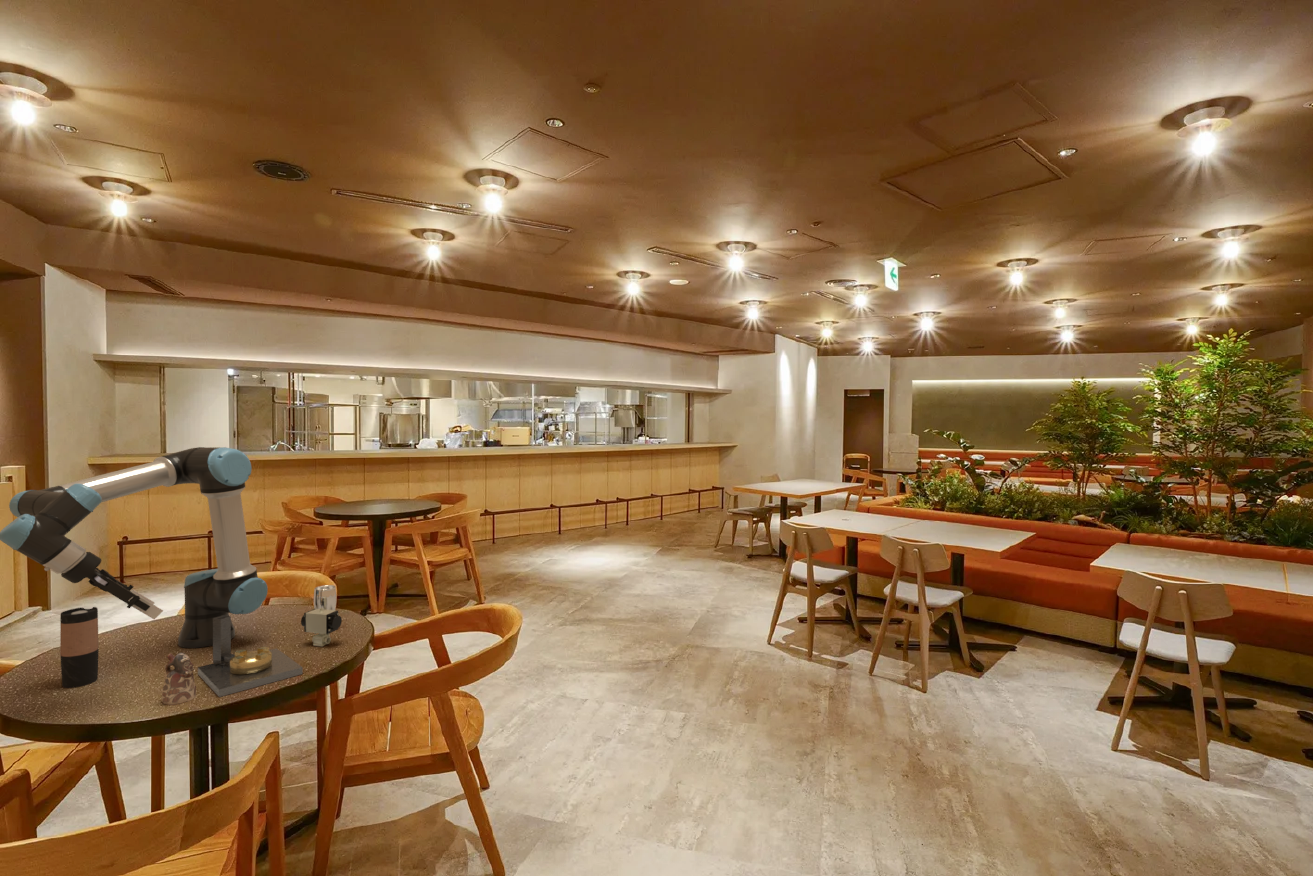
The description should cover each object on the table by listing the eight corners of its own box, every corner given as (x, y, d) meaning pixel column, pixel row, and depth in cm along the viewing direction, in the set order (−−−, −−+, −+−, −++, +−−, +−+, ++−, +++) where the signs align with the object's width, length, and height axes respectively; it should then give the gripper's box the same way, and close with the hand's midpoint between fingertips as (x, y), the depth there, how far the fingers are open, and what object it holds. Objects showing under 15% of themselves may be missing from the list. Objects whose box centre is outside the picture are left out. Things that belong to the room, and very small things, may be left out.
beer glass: (332, 625, 217) (332, 583, 216) (339, 630, 212) (339, 587, 211) (311, 630, 212) (311, 587, 212) (317, 635, 207) (317, 591, 207)
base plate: (197, 674, 174) (197, 666, 174) (276, 654, 189) (276, 647, 189) (219, 697, 159) (219, 688, 159) (302, 674, 175) (302, 666, 174)
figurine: (184, 704, 155) (183, 658, 155) (154, 705, 155) (154, 658, 154) (202, 692, 162) (202, 648, 162) (174, 693, 162) (174, 648, 161)
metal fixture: (201, 668, 172) (200, 622, 172) (234, 655, 182) (234, 611, 182) (248, 676, 167) (248, 628, 167) (280, 662, 177) (280, 617, 177)
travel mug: (66, 690, 162) (65, 616, 162) (56, 684, 167) (55, 612, 166) (103, 680, 169) (102, 609, 169) (93, 674, 173) (92, 605, 173)
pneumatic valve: (331, 648, 194) (331, 611, 194) (300, 646, 197) (300, 609, 196) (344, 642, 200) (344, 606, 199) (313, 640, 202) (313, 604, 202)
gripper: (54, 567, 158) (133, 613, 170) (64, 583, 143) (150, 632, 155) (82, 544, 162) (157, 591, 174) (94, 557, 147) (176, 607, 159)
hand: (154, 610), depth 165 cm, fingers open, 10 cm apart
